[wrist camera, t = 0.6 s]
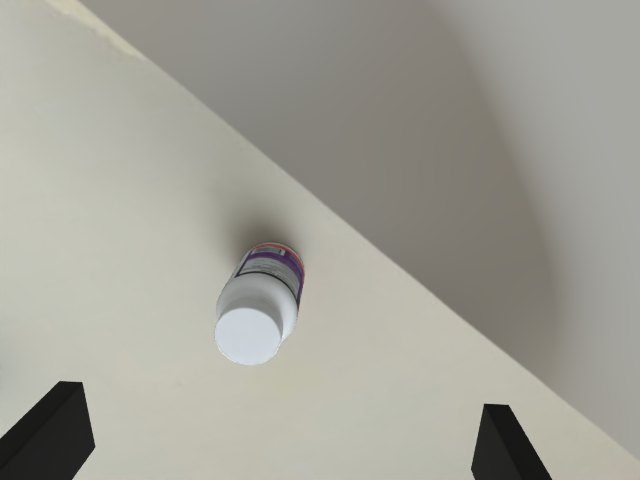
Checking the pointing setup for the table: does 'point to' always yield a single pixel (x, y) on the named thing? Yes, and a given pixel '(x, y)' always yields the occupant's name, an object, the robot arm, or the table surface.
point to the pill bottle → (259, 304)
